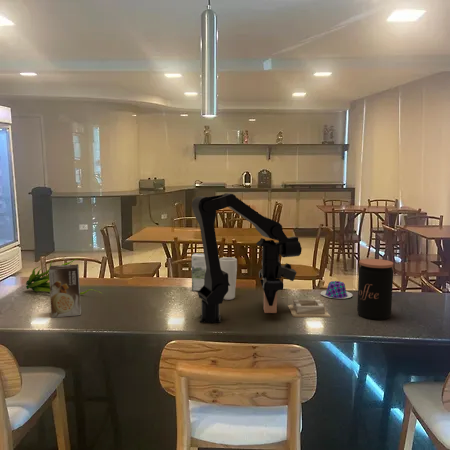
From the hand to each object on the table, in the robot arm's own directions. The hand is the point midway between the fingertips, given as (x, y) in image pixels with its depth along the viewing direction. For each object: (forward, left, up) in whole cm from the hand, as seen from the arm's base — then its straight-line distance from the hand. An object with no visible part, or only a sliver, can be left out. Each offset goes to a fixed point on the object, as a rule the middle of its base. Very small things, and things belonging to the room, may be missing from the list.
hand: (270, 303), depth 147 cm
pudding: (+20, -28, -3) cm, 35 cm away
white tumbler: (+16, +14, -3) cm, 21 cm away
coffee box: (-2, +68, -3) cm, 68 cm away
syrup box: (+28, +25, -3) cm, 38 cm away
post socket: (0, -13, -3) cm, 13 cm away
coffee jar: (-4, -34, -3) cm, 34 cm away
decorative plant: (+22, +78, -3) cm, 81 cm away
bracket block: (0, 0, -2) cm, 2 cm away
